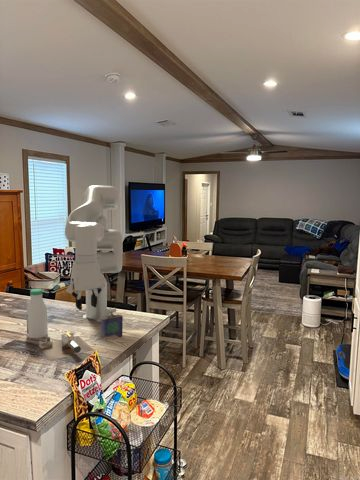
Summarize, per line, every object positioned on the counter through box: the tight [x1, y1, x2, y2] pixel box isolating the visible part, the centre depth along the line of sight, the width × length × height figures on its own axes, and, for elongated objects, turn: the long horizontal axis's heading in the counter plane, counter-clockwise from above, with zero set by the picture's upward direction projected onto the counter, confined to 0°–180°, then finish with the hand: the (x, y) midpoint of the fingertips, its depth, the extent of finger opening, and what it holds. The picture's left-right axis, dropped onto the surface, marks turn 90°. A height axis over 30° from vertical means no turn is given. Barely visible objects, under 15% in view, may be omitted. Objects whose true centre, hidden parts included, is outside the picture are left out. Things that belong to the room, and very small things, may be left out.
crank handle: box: [60, 332, 81, 354], centre depth 131 cm, size 13×4×5 cm, turn 37°
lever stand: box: [36, 335, 94, 362], centre depth 133 cm, size 16×15×5 cm
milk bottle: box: [26, 288, 49, 339], centre depth 144 cm, size 8×8×20 cm
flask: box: [100, 312, 124, 338], centre depth 147 cm, size 9×3×11 cm, turn 121°
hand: (86, 307), depth 131 cm, fingers open, 4 cm apart
